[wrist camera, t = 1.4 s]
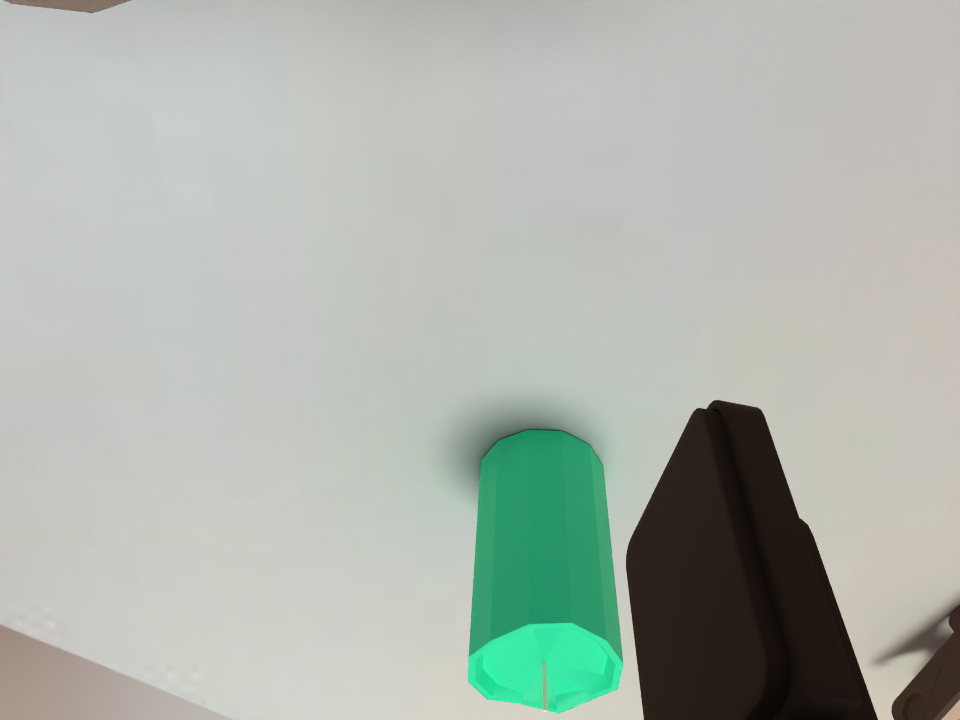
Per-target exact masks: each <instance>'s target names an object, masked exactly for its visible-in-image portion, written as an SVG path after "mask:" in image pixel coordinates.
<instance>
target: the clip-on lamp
mask: <svg viewBox="0 0 960 720" xmlns="http://www.w3.org/2000/svg"><path fill="white" fill-rule="evenodd" d="M949 625H950V627H951V628H952V629H953V631H954V633H953V634H952V635H951V637H950V638H949V639H948V640H947V641H946V642H945V643H944V645H943V646H942V647H941V648H940V649H939V650H938V651H937V653H936V654H935V655H934V656H933V657H932V658H931V659H930V661H929V662H928V663H927V664H926V665H925V666H924V667H923V669H922V670H921V671H920V672H919V673H918V674H917V675H916V677H915V678H914V679H913V680H912V681H911V682H910V683H909V685H908V686H907V687H906V688H905V689H904V690H903V691H902V693H901V694H900V695H899V696H898V697H897V698H896V699H895V701H894V703H893V705H892V715H893V718H894V720H960V606H959V607H958V608H957V609H956V610H955V611H954V612H953V614H952V615H951V616H950V618H949Z"/></svg>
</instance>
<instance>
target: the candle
mask: <svg viewBox="0 0 960 720" xmlns="http://www.w3.org/2000/svg"><path fill="white" fill-rule="evenodd" d="M622 667H623V657H622V647H621V637H620V627H619V617H618V607H617V597H616V588H615V578H614V568H613V558H612V548H611V538H610V528H609V519H608V509H607V499H606V489H605V479H604V469H603V465H602V464H601V462H600V460H599V459H598V457H597V456H596V454H595V452H594V451H593V449H592V448H591V446H590V445H589V444H587V443H585V442H583V441H581V440H579V439H577V438H575V437H573V436H571V435H569V434H567V433H565V432H563V431H550V430H530V429H528V430H526V431H523V432H520V433H517V434H515V435H512V436H509V437H506V438H504V439H501V440H498V441H497V443H496V444H495V445H494V446H493V447H492V448H491V449H490V451H489V452H488V453H487V454H486V455H485V456H484V457H483V459H482V460H481V468H480V484H479V500H478V517H477V533H476V549H475V565H474V581H473V597H472V613H471V629H470V645H469V664H468V682H469V683H470V684H471V685H472V686H473V687H474V688H476V689H477V690H478V691H479V692H480V693H481V694H482V695H483V696H484V697H485V698H486V699H488V700H496V701H504V702H511V703H519V704H523V705H527V706H531V707H535V708H539V709H543V712H547V711H551V712H554V713H561V712H563V711H566V710H568V709H571V708H573V707H575V706H578V705H580V704H583V703H585V702H587V701H590V700H592V699H595V698H597V697H600V696H602V695H604V694H607V693H609V692H612V691H614V690H617V689H618V687H619V682H620V677H621V672H622Z"/></svg>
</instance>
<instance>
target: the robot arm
mask: <svg viewBox="0 0 960 720" xmlns="http://www.w3.org/2000/svg"><path fill="white" fill-rule="evenodd" d="M626 571H627V579H628V588H629V596H630V605H631V613H632V621H633V630H634V638H635V647H636V655H637V664H638V672H639V681H640V689H641V697H642V706H643V714H644V720H878V718H877V716H876V713H875V710H874V707H873V704H872V701H871V699H870V696H869V693H868V690H867V687H866V684H865V682H864V679H863V676H862V673H861V670H860V667H859V664H858V662H857V659H856V656H855V653H854V650H853V647H852V645H851V642H850V639H849V636H848V633H847V630H846V628H845V625H844V622H843V619H842V616H841V613H840V610H839V608H838V605H837V602H836V599H835V596H834V593H833V591H832V588H831V585H830V582H829V579H828V576H827V574H826V571H825V568H824V565H823V562H822V559H821V556H820V554H819V551H818V548H817V545H816V542H815V539H814V537H813V534H812V532H811V530H810V528H809V526H808V525H807V524H806V523H805V522H804V521H803V520H802V519H800V518H799V516H798V513H797V510H796V507H795V504H794V501H793V498H792V495H791V492H790V489H789V487H788V484H787V481H786V478H785V475H784V472H783V469H782V466H781V463H780V460H779V457H778V454H777V451H776V449H775V446H774V443H773V440H772V437H771V434H770V431H769V428H768V425H767V422H766V419H765V416H764V414H763V413H762V411H761V410H760V409H759V408H756V407H751V406H746V405H741V404H736V403H730V402H725V401H720V400H715V401H713V402H712V403H711V404H710V405H709V406H708V408H707V409H702V408H697V409H696V410H695V411H694V412H693V414H692V415H691V417H690V419H689V421H688V423H687V425H686V427H685V429H684V431H683V433H682V435H681V437H680V440H679V442H678V444H677V446H676V448H675V450H674V452H673V454H672V456H671V458H670V460H669V462H668V464H667V466H666V468H665V470H664V472H663V474H662V476H661V478H660V480H659V482H658V484H657V486H656V488H655V490H654V492H653V494H652V496H651V498H650V501H649V503H648V505H647V507H646V509H645V511H644V513H643V515H642V517H641V519H640V521H639V523H638V525H637V527H636V529H635V531H634V533H633V535H632V537H631V539H630V542H629V545H628V549H627V555H626Z"/></svg>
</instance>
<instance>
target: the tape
mask: <svg viewBox="0 0 960 720" xmlns="http://www.w3.org/2000/svg"><path fill="white" fill-rule="evenodd" d="M4 1H6V2H9V3H11V4H19V5H28V6H36V7H45V8H54V9H62V10H71V11H80V12H88V13H94V12H98V11H101V10H104V9H107V8H110V7H113V6H116V5H119V4H122V3H125V2H128V1H131V0H4Z"/></svg>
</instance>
